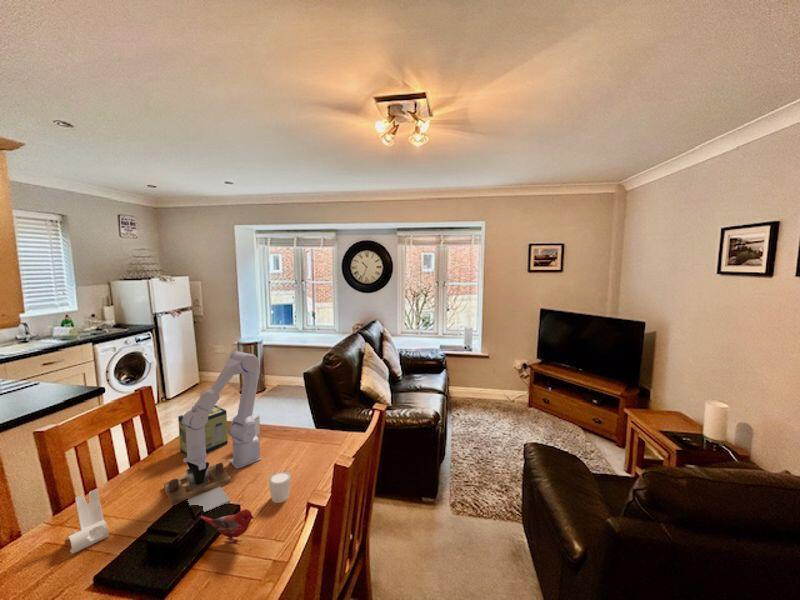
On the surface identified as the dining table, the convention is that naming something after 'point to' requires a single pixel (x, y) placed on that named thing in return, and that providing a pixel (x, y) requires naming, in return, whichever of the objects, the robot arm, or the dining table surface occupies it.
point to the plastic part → (88, 523)
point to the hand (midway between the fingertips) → (197, 480)
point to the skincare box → (257, 425)
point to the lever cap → (191, 480)
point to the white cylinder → (279, 487)
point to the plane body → (179, 494)
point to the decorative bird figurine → (231, 524)
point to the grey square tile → (210, 499)
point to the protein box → (208, 430)
